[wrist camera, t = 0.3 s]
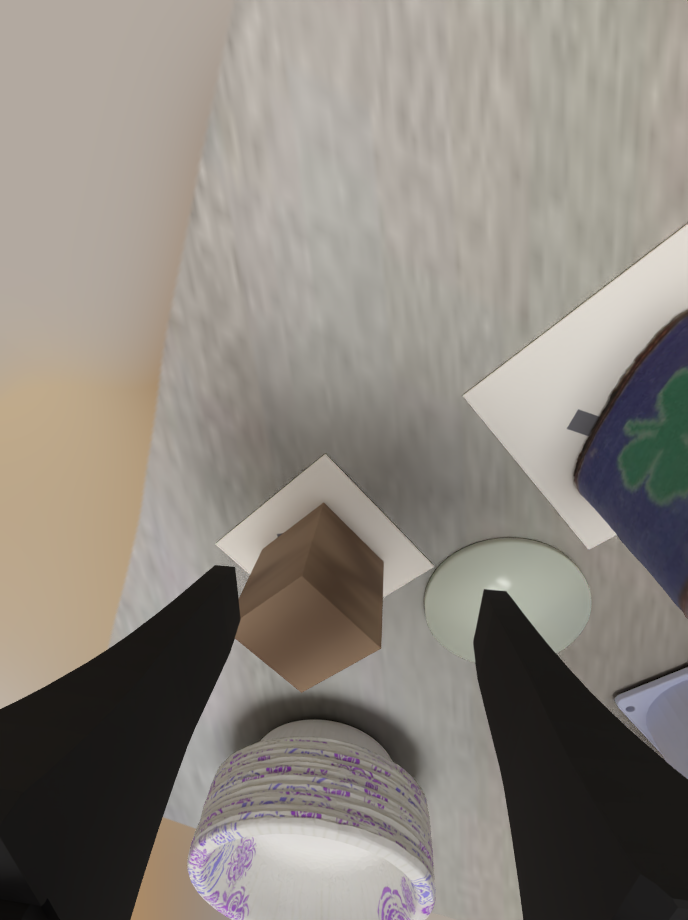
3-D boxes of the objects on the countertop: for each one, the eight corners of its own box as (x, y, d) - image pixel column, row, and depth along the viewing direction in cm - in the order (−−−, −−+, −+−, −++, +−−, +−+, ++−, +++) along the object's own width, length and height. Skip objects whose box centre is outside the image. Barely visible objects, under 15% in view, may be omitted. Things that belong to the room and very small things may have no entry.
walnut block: (383, 561, 24) (381, 648, 18) (321, 602, 26) (301, 692, 20) (323, 502, 23) (301, 576, 17) (262, 549, 24) (224, 629, 19)
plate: (618, 615, 24) (623, 623, 23) (483, 678, 27) (485, 687, 26) (528, 507, 22) (531, 514, 21) (392, 590, 25) (392, 598, 24)
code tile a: (823, 421, 18) (826, 422, 18) (587, 548, 22) (588, 550, 22) (706, 208, 16) (709, 208, 16) (462, 395, 20) (462, 396, 19)
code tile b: (434, 565, 24) (434, 567, 24) (320, 635, 27) (320, 636, 27) (325, 453, 21) (325, 454, 21) (215, 543, 25) (214, 544, 25)
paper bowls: (438, 814, 34) (451, 961, 26) (261, 813, 36) (229, 947, 29) (410, 682, 28) (416, 826, 21) (202, 693, 31) (143, 824, 23)
